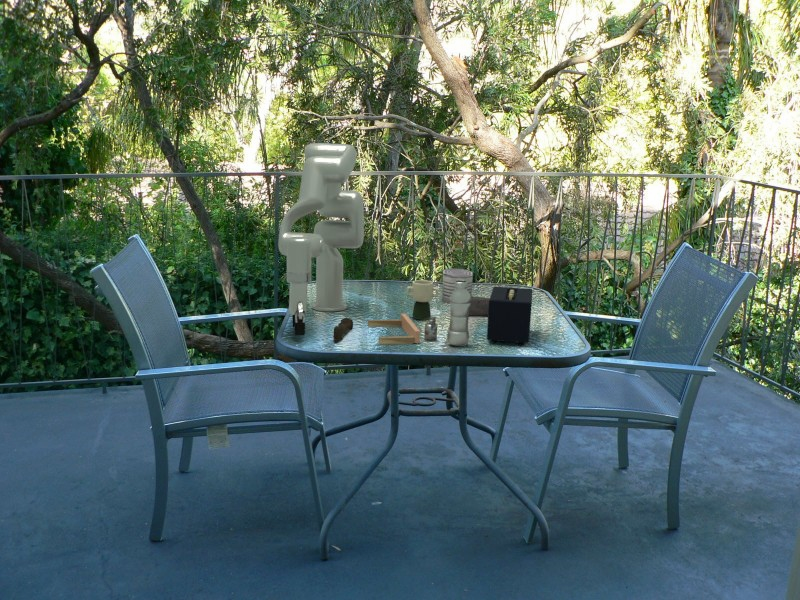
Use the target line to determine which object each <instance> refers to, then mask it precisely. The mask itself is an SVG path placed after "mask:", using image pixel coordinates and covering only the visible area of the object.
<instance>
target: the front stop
mask: <svg viewBox="0 0 800 600" xmlns="http://www.w3.org/2000/svg"><path fill="white" fill-rule="evenodd" d="M400 320H402V325H401V326H400V328H402V329H403V330H404V332H405V333H406V334H407V336H408V335H409V336H414V337H415V343H417V344H416V345H419V344H418V343H421V342H420V341H421V339H420V338H421V331H420V328H419V327H417V326H416V325H415V323H414V322H413V321H412V320H411V319H410V317H409V316H408V315H407V313H401V314H400Z"/></svg>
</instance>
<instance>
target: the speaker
mask: <svg viewBox="0 0 800 600" xmlns="http://www.w3.org/2000/svg"><path fill="white" fill-rule="evenodd" d="M489 298H490V299H489V309H488V316H487V327H486V328H487V329H486V340H487V341H491V343H493V344H497V343H498V342H506V343H507V342H509V343H518V345H519V346H524V345H525V344H528V343H529V342H530V332H531V331H530V330H531V322H532V321H531V318H532V317H531V316H532V305H533V304H532V302H533V289H532V288H522V287H521V288H520V287H506V286H504V287H503V286H494V287H492V290H491V294H490V297H489Z"/></svg>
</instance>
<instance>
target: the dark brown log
mask: <svg viewBox="0 0 800 600" xmlns="http://www.w3.org/2000/svg"><path fill="white" fill-rule="evenodd" d="M353 328H354V321H353V319H352V318H349V317H344V318H342V319H341V320H340V322H339V323H338V325H336V326H334V327H333V335H332V337H333V342H334V344H338V343H340V342H341V341H342V340H343V337H344V336H345V335H346V334H347V333H348V332H349V331H350V330H352V329H353Z"/></svg>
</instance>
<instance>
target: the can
mask: <svg viewBox="0 0 800 600" xmlns="http://www.w3.org/2000/svg"><path fill="white" fill-rule="evenodd" d="M473 276H474V273H473V271H470V270H466V269H464V268H454V267H453V268H446V269H443V270H442V287H441V288H442V291H441V293H442V294H441V302H442V304H444V303H447V304H446V305H448V304H450V296H451V294H452V292H453V291H454V290H455V287H454V285H455V281H456V280H464V281H467V288H466V289H467V291H468V292H469V294H470V296H473V294H472V293H473V292H472V290H473Z"/></svg>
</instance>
